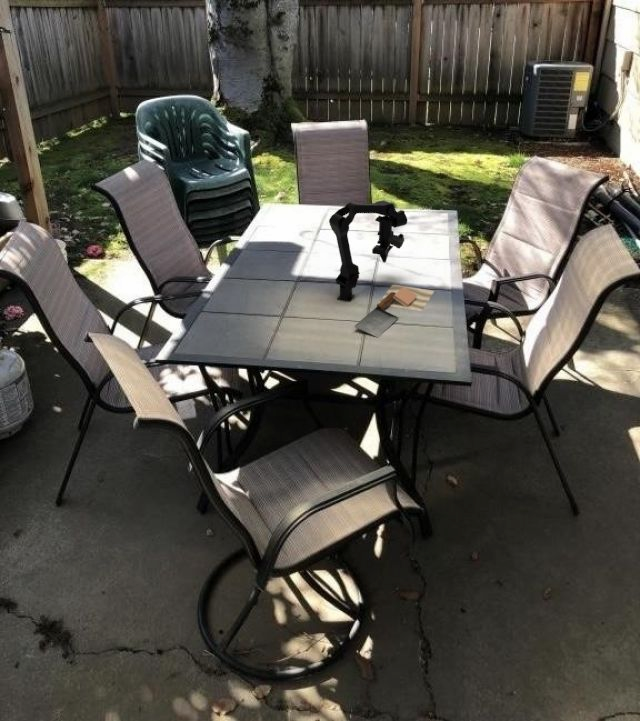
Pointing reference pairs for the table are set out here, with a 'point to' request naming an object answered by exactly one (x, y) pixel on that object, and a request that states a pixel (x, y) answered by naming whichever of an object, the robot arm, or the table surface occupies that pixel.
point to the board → (418, 303)
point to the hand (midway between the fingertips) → (384, 262)
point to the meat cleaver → (378, 318)
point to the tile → (405, 296)
